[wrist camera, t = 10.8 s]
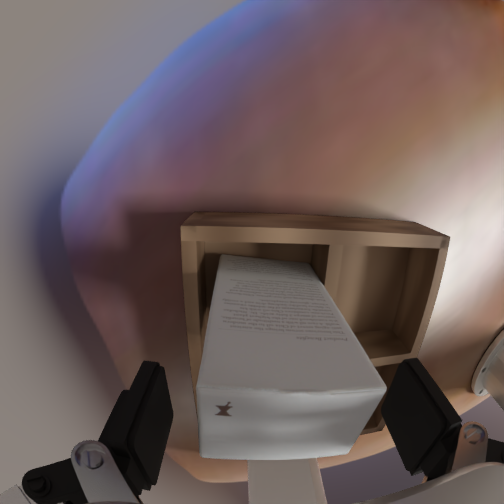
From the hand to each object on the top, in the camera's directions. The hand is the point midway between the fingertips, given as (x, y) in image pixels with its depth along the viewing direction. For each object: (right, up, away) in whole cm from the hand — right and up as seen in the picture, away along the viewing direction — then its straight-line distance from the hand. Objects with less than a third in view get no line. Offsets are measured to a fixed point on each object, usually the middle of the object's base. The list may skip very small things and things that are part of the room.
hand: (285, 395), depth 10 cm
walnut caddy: (+3, -1, +12) cm, 12 cm away
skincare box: (0, +3, +10) cm, 10 cm away
